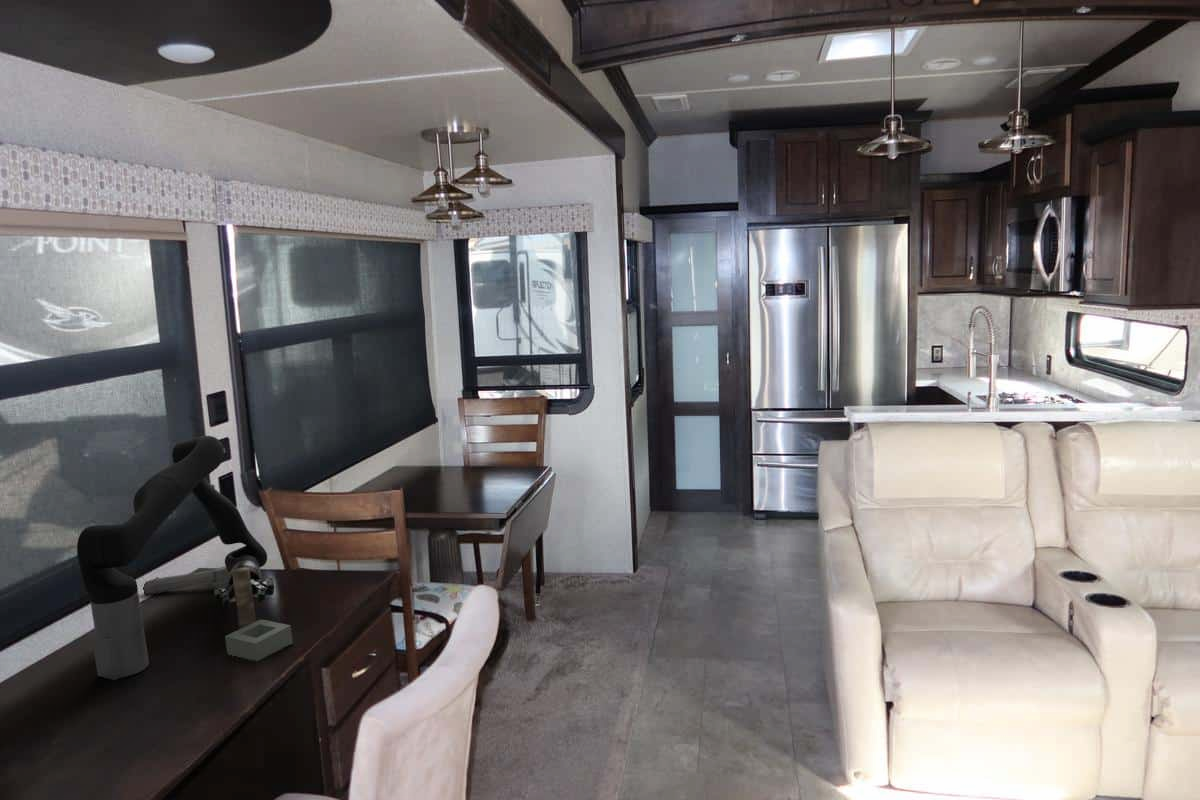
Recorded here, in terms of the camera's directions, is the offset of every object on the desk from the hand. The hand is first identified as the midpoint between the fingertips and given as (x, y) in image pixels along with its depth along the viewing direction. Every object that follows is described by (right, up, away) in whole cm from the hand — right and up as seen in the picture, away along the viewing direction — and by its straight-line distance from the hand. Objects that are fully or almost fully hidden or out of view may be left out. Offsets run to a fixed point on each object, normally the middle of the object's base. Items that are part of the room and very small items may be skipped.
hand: (244, 601), depth 203 cm
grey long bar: (-29, -6, +35) cm, 46 cm away
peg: (0, -9, +4) cm, 9 cm away
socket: (+6, -10, -6) cm, 13 cm away
